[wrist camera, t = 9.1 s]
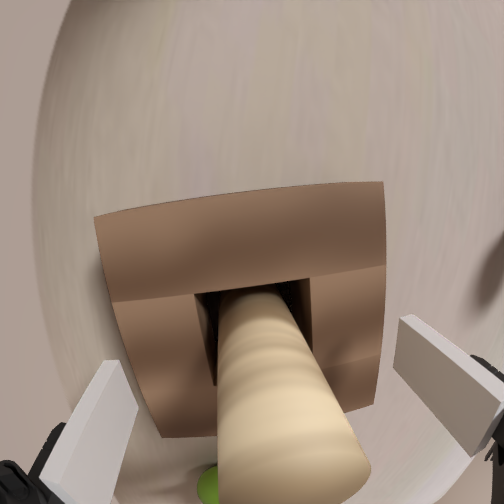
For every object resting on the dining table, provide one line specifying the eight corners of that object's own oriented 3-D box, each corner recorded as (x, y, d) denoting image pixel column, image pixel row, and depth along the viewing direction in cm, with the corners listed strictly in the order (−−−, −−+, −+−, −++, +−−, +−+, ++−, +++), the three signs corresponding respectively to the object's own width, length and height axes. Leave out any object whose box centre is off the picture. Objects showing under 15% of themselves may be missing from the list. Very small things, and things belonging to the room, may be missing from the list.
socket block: (126, 209, 17) (93, 217, 12) (344, 182, 18) (383, 181, 13) (171, 392, 20) (161, 437, 15) (347, 366, 21) (373, 404, 16)
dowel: (214, 276, 18) (202, 467, 5) (277, 268, 19) (383, 431, 5) (224, 332, 19) (232, 527, 6) (282, 323, 19) (359, 502, 6)
